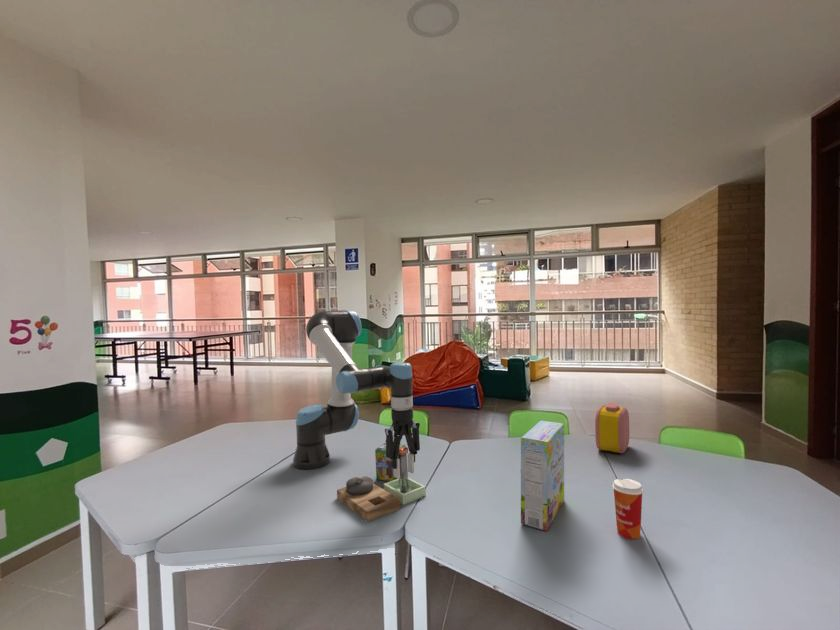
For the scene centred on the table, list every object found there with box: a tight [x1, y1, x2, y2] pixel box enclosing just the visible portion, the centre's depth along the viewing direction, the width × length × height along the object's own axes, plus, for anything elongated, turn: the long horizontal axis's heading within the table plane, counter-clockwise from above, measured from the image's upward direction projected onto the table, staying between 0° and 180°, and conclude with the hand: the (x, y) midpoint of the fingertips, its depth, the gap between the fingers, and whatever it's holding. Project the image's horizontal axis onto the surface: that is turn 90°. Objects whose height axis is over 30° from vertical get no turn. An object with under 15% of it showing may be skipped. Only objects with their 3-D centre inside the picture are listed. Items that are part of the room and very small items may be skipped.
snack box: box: [520, 420, 565, 532], centre depth 122 cm, size 22×9×26 cm, turn 148°
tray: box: [383, 477, 427, 505], centre depth 136 cm, size 12×10×3 cm
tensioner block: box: [336, 475, 401, 523], centre depth 130 cm, size 20×12×7 cm, turn 39°
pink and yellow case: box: [594, 402, 630, 455], centre depth 174 cm, size 18×11×19 cm, turn 144°
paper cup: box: [612, 478, 645, 540], centre depth 109 cm, size 8×8×14 cm
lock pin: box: [398, 446, 409, 494], centre depth 136 cm, size 4×4×15 cm
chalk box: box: [374, 442, 406, 482], centre depth 151 cm, size 9×9×15 cm
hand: (404, 474), depth 136 cm, fingers open, 5 cm apart
